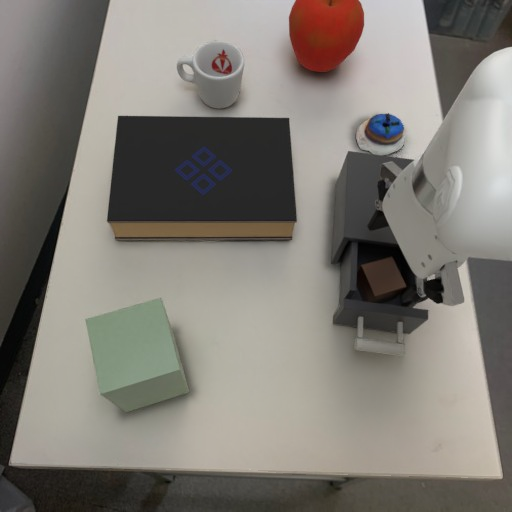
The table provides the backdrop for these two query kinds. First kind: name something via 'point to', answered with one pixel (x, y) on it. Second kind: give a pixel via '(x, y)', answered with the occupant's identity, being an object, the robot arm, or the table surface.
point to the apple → (325, 31)
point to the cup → (215, 72)
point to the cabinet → (359, 202)
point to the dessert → (381, 134)
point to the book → (202, 179)
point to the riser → (136, 356)
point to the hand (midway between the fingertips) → (395, 260)
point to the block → (380, 281)
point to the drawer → (376, 314)
